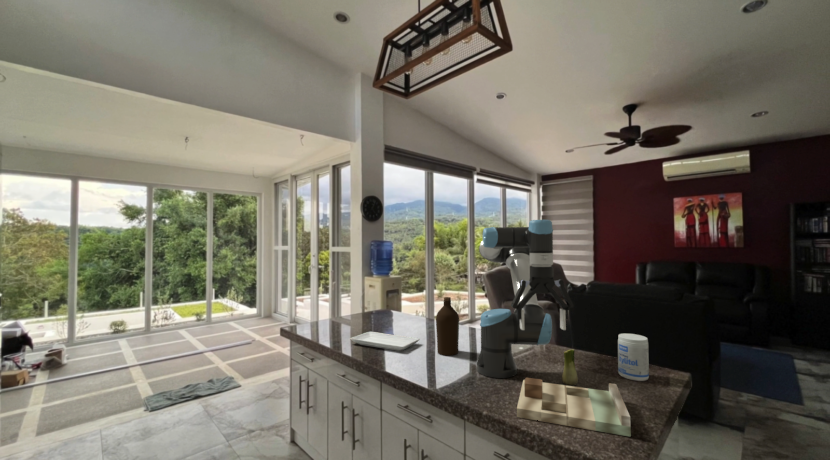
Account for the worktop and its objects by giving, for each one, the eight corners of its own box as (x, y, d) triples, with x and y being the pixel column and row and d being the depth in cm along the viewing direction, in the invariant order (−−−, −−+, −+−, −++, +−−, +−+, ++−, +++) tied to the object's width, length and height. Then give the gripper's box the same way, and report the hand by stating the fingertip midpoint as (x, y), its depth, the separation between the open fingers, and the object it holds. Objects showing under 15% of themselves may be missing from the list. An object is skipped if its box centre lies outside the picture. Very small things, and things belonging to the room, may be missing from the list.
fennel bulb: (573, 381, 124) (572, 347, 124) (582, 386, 119) (581, 351, 119) (558, 382, 123) (557, 348, 123) (566, 388, 118) (565, 352, 118)
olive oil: (440, 357, 151) (439, 299, 152) (433, 350, 161) (432, 296, 162) (463, 355, 153) (462, 298, 154) (455, 348, 163) (454, 295, 164)
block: (524, 396, 106) (524, 383, 106) (526, 390, 111) (525, 377, 111) (542, 399, 104) (541, 385, 104) (542, 392, 109) (542, 379, 109)
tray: (369, 337, 186) (369, 330, 186) (420, 345, 170) (420, 337, 171) (348, 345, 171) (348, 338, 171) (403, 354, 156) (403, 346, 156)
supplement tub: (616, 377, 127) (614, 336, 127) (621, 370, 134) (619, 331, 135) (647, 384, 121) (646, 341, 121) (651, 376, 128) (649, 335, 128)
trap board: (517, 417, 99) (516, 399, 99) (523, 387, 119) (523, 372, 119) (630, 436, 88) (630, 416, 88) (616, 400, 108) (616, 384, 109)
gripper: (506, 266, 113) (508, 332, 112) (583, 266, 112) (585, 331, 112) (501, 265, 120) (502, 326, 120) (573, 264, 120) (575, 326, 119)
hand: (542, 329), depth 116 cm, fingers open, 13 cm apart
